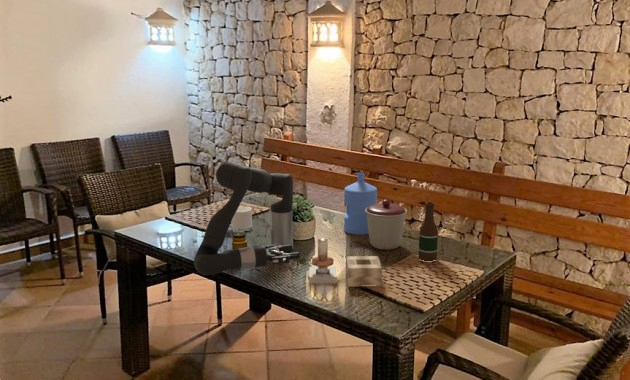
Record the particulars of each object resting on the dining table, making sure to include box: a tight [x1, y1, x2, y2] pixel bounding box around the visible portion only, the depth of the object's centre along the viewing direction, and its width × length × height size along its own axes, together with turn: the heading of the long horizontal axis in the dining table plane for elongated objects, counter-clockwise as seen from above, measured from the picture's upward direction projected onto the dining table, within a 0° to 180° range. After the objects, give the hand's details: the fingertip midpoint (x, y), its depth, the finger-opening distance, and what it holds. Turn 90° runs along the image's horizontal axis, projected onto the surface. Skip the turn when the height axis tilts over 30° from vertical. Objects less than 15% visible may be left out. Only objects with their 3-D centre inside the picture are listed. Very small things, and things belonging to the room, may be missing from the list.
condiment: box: [231, 232, 248, 250], centre depth 216 cm, size 7×8×12 cm
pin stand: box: [308, 266, 338, 285], centre depth 200 cm, size 10×10×2 cm
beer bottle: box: [418, 201, 439, 261], centre depth 215 cm, size 8×8×24 cm
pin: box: [311, 237, 334, 275], centre depth 198 cm, size 8×8×15 cm
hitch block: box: [345, 255, 383, 287], centre depth 197 cm, size 12×12×7 cm
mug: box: [230, 206, 253, 229], centre depth 259 cm, size 13×10×10 cm
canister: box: [365, 199, 408, 251], centre depth 231 cm, size 18×18×21 cm
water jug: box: [343, 172, 378, 236], centre depth 253 cm, size 16×16×28 cm
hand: (295, 251), depth 194 cm, fingers open, 8 cm apart
